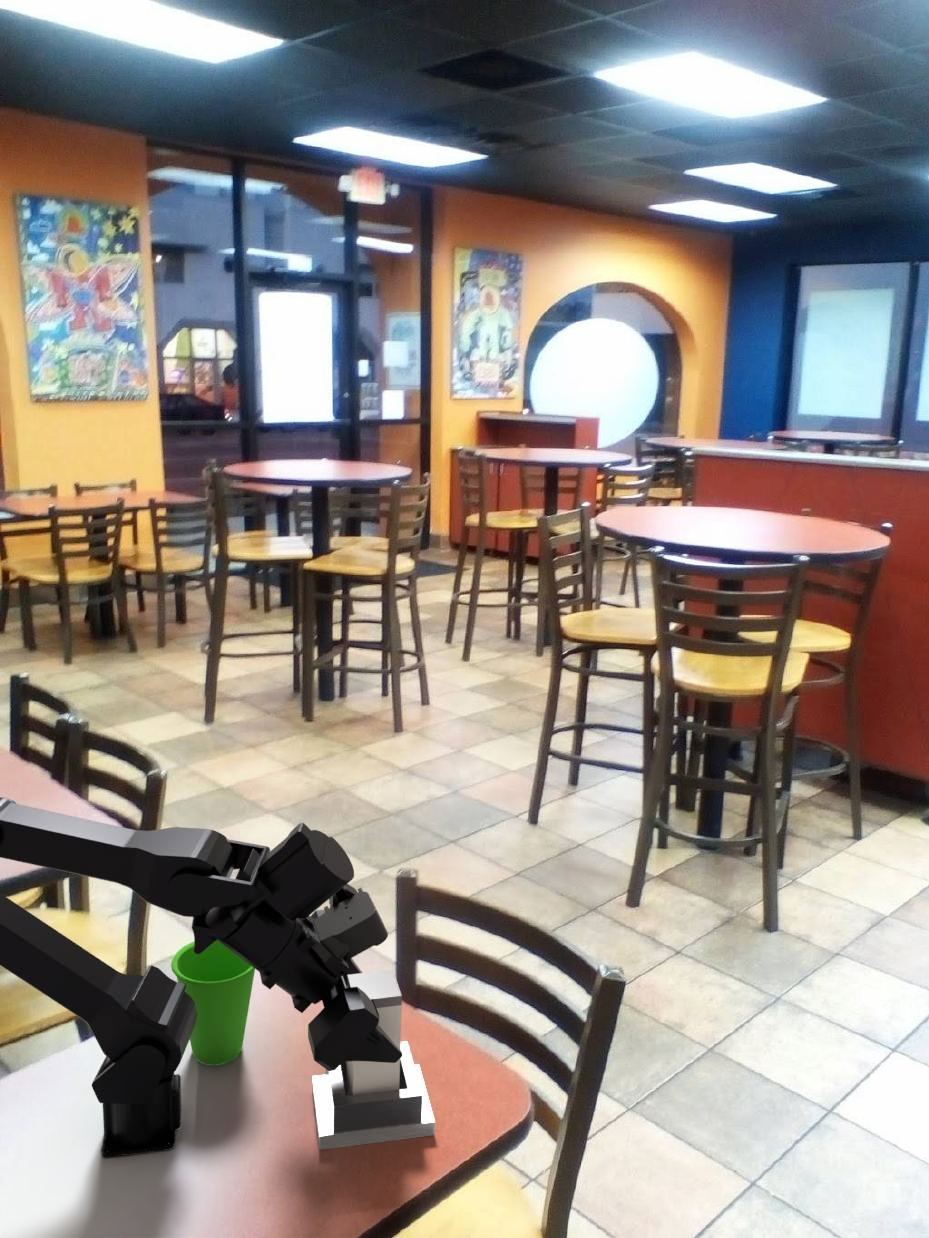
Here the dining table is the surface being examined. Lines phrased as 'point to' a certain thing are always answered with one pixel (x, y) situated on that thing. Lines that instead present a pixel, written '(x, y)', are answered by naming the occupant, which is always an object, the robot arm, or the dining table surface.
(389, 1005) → the plug
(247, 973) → the cup
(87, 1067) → the dining table surface
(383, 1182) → the dining table surface
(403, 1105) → the socket
